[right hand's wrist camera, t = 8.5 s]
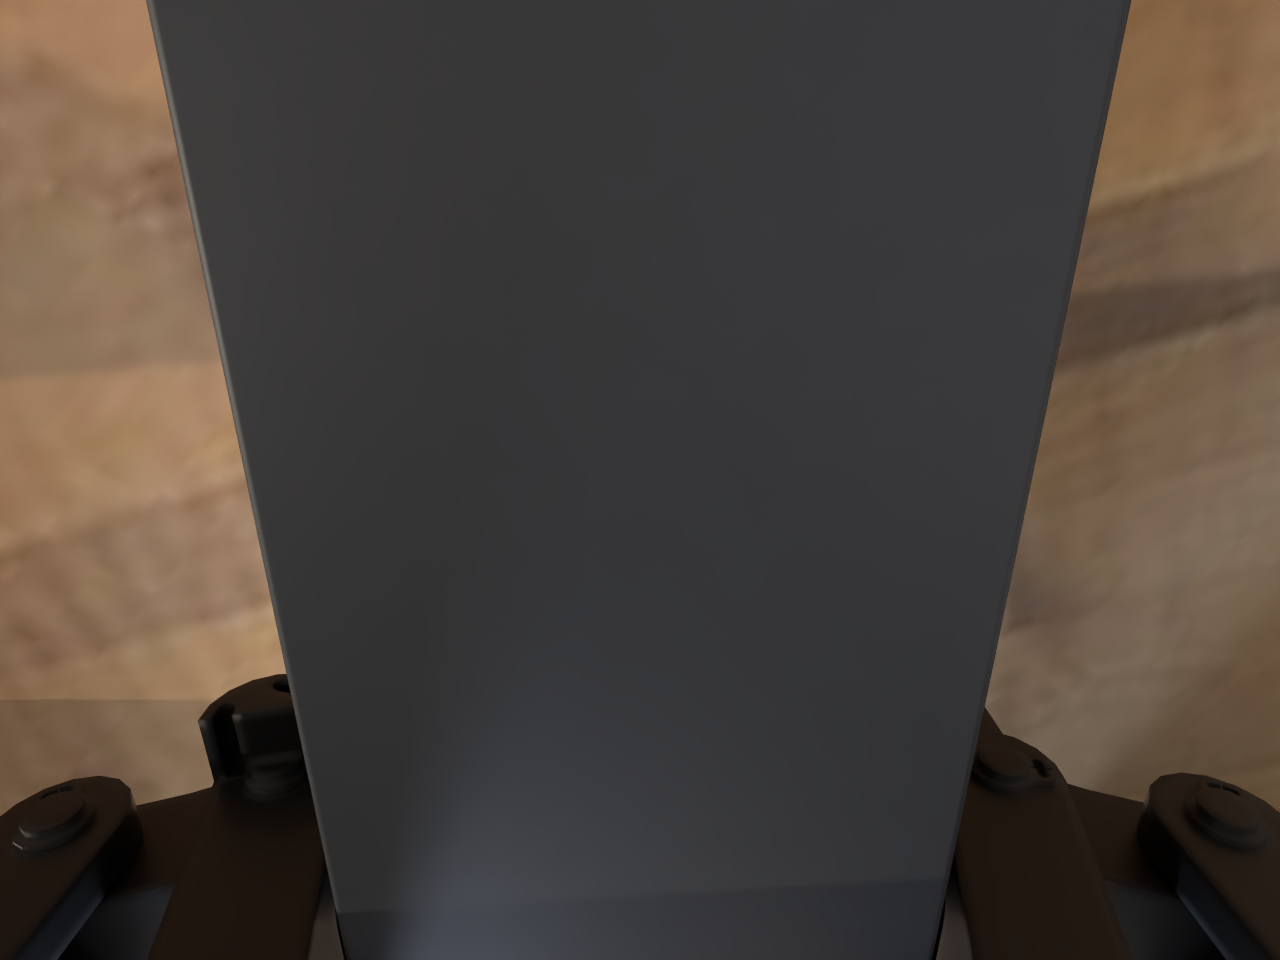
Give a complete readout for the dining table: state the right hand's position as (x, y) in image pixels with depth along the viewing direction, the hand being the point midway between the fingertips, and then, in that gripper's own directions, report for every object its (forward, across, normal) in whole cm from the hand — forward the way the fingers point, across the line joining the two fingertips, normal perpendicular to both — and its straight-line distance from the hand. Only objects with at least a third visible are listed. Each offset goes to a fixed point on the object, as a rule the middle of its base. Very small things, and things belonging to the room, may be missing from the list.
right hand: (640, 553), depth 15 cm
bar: (+1, 0, -12) cm, 12 cm away
